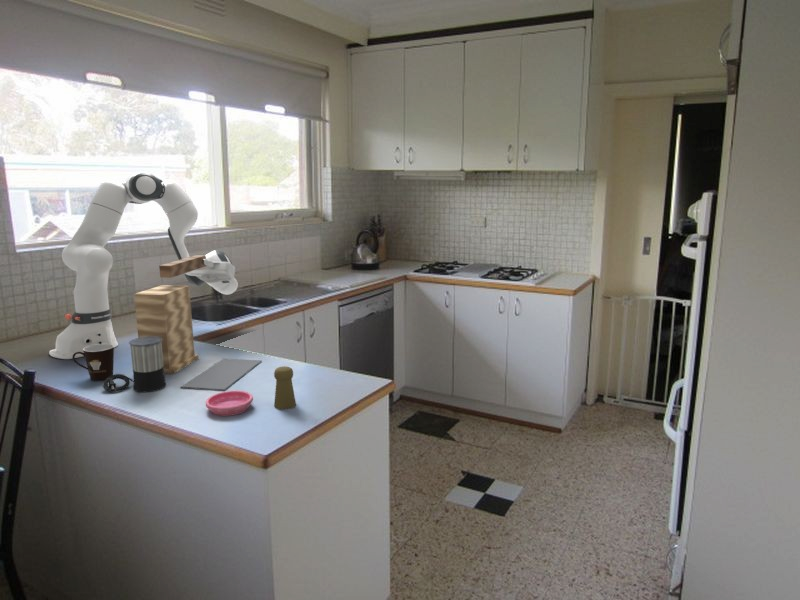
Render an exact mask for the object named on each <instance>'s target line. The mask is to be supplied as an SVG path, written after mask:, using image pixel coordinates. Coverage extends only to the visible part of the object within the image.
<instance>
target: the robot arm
mask: <svg viewBox="0 0 800 600" xmlns="http://www.w3.org/2000/svg"><path fill="white" fill-rule="evenodd" d="M93 194H94V195H93V197H92V198H91V201H90V203H89V206H88V208H87V210H86V213H85V215H84V218H83V220H82V222H81V224H80V226H79V227H78V229H77V231H76V232H75V234H74V235H73V236H72V238H71V240H70V241H69V243H68V244H67V245H66V246H65V247H64V248H63V249H62V252H61V259H62V261H63V264H65V266H66V267H68V269H70V270H72V271H73V272H76V278H75V279H76V280H75V286H74V289H73V293H72V294H73V299H74V301H73V302H74V308H75V312H74V313H73V314H70V313H66V314H65V315H64V316H65V319H66V320H69V321H70V320H71V323H70V324H69V325H68V326H67V327H65V329H64V330H62V331H61V332H60V333H59V334H58V335H57V336H56V339H55V348H54V349H50V350H49V352H48V353H49V356H50V357H53V358H56V359H60V360H61V359H62V360H73V354H74V353H76V352H83V349H84V348H85V347H87V346H91V345H96V344H112V345H114V348H116V347H117V346H118V345H119V343H118V340H117V339H116V335H115V333H114V329H113V324H112V321H113V320H112V318H113V317H112V310H111V308H110V302H109V293H108V289H109V288H108V285H109V278H110V277H109V276H110V270H111V269H112V267H113V264H114V258H113V255H112V253H111V252H110V251H108V249H106V248H105V246H106V245H107V243H108V242H109V241H110V239H111V238H113V237H114V236H115V233H116V232H117V229H118V226H119V224H120V221H121V219H122V216H123V213H124V210H125V208H126V206H127V205H128V204H135V205H141V204H145V203H149V202H156V203H157V204H158V205H159V206H160V207H161V208H162V210H163V211H164V213H165V214H166V217H167V219H168V222H169V227H168V229H167V234H168V237H169V240H170V243H171V245H172V247H173V249H174V252H175V255H176V257H177V260H181V259H184V258H188V257H191V256H190V254H189V252H188V249H187V246H186V245H185V238H186V236H187V234H188V233H189V231H190V230H191V229H192V228H193V226H194V225H195V224H196V222H197V220H198V215H199V214H198V213H199V212H198V209H197V207H196V206H195V204H194V202H193V201H192V199H191V198H190V196H189V194H188V193H187V192H186V191H185V190H184V188H183V187H182V186H181V185H180V183H178V182H177V181H176V180H174V179H165V180H162V179H160V178H158V177H157V176H155V175H154V174H152V173H150V172H147V171H139V172H136V173H134V174H132V175H130V176H129V177H128V178H126V179H125V180H124V181H123V182H121V181H120V182H119V181H118V180H114V179H107V180H104V181H102V182H101V183H100V185H99V186H98V187H97V189H96V191H95V193H93ZM205 255H206V259H202V264H203V265H206V266H205V267H202V268H199V269H196V270H193V271H190V272H187V273H184V274H183V275H184V278H185V280H186V281H187V282H188V284H189V285H191V286H193V287H202V286H203V285H205V284H208V286H210V287H212V288H213V289H214V290H215V291H217V292H218V293H221V294H223V295H231V294H233V293H235V292H236V291H237V290H238V286H239V283H238V279H236V278H235V273H236V266H234V265H233V263H232V261H231V259H230V257H228V255H227V254H226V253H224V251H222V250H218V249H215V250H212V251H210V252H208V253H207V254H205ZM83 353H84V352H83ZM82 357H84V356H83V355H82V354H76V355H75V359H76V358H82Z"/></svg>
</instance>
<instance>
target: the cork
mask: <svg viewBox="0 0 800 600" xmlns="http://www.w3.org/2000/svg"><path fill="white" fill-rule="evenodd" d="M273 374H274V375H273V376H274V379H275V380H276V381H275V390H274V391H275V392H274V402H273V403H274V404H273V405H274V407H273V408H274V409H277V410H290V409H293V408H295V407H296V406H297V403H296V397H295V391H294V387H293V386H294V385H293V381H292V379H293V377H294V370H293V368H292V367H290V366H279V367H277V368H275V370H274V371H273Z"/></svg>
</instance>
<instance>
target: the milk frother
mask: <svg viewBox="0 0 800 600" xmlns="http://www.w3.org/2000/svg"><path fill="white" fill-rule="evenodd" d="M161 341H162V338H160V337H152V336H148V337H141V338H138V337H137V338H134V339H131V340H129V342H128V344H129V345H130V355H131V364H132V372H133V374H132V377H133V379H131V378H130V377H129V376H127V375H125V374H121V373H118V374H117V373H116V374H115V373H114V374H113V375H111V376H110V377H108V378H107V379H106V380H105V381H103V383H102V387H103V389H104V390H105V391H107V392H120V391H123V390H126V389H127V388H128V387H129V386H130V384H131V382H132V383H133V387H132V388H133V390H134V391H135V392H139V393H148V392H149V393H151V392H155V391H159V390H162V389H164V388H165V387H166V386H167V382H166V377H165V373H164V367H163V354H162V343H161ZM119 379H120V380H123V381H124V382H125V383H124V384H123V385H121V386H117V383H116V382H115V380H119Z"/></svg>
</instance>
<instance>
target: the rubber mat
mask: <svg viewBox="0 0 800 600" xmlns="http://www.w3.org/2000/svg"><path fill="white" fill-rule="evenodd" d="M261 363H262V360H260V359H244V358H241V359H239V358H222V359H220V360H219V361H217V362H216V363H214V364H213V365H211V366H210V367H208V368H207V369H205V370H204V371H202V372H201V373H200V374H198V375H196V376H195V377H193V378H191V379H190V380H188V381H187V382H186V383H183V384H182V385H181V386H180V389H188V390H189V389H190V390H191V389H192V390H204V391H205V390H206V391H217V392H218V391H221V392H226V391H227V390H228V389H229V388H231V387H232V386H233V385H234V384H235V383H237V382H238V381H239V380H241V377H242V376H243V375H244V376H246V375H247V374H248V373H249V372H251V371H252V370H253V369H255V368H256V367H257V366H258V365H260V364H261ZM255 366H256V367H255ZM251 369H252V370H251ZM250 370H251V371H250ZM247 372H248V373H247ZM246 373H247V374H246ZM244 376H243V377H244ZM238 379H239V380H238ZM237 380H238V381H237ZM232 384H233V385H232Z"/></svg>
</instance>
